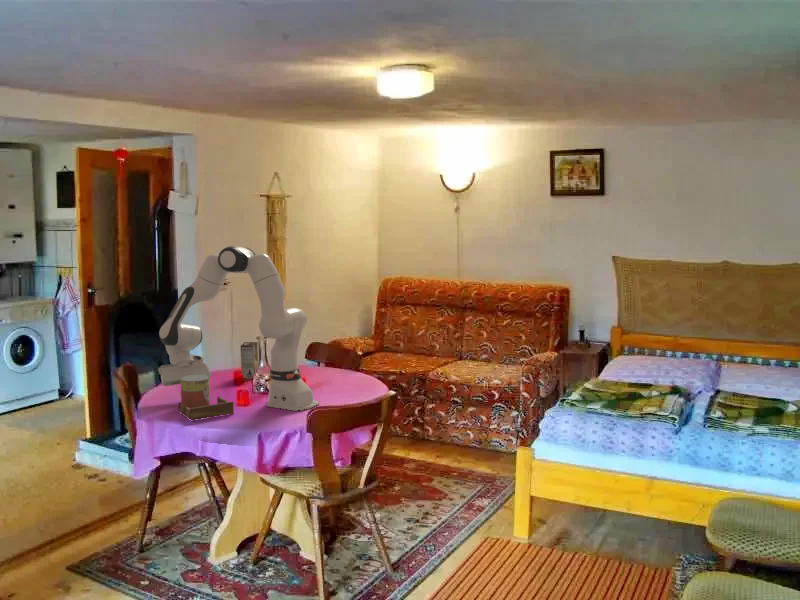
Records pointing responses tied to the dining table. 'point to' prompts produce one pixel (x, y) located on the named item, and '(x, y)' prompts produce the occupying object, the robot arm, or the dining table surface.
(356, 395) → the dining table surface
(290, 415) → the dining table surface
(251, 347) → the coffee box
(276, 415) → the dining table surface
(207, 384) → the canned food
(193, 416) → the box
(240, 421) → the dining table surface
